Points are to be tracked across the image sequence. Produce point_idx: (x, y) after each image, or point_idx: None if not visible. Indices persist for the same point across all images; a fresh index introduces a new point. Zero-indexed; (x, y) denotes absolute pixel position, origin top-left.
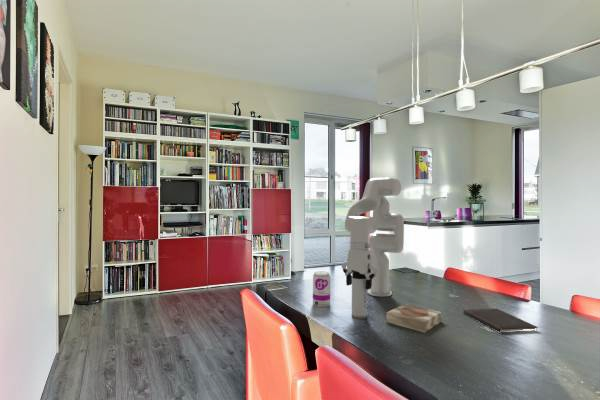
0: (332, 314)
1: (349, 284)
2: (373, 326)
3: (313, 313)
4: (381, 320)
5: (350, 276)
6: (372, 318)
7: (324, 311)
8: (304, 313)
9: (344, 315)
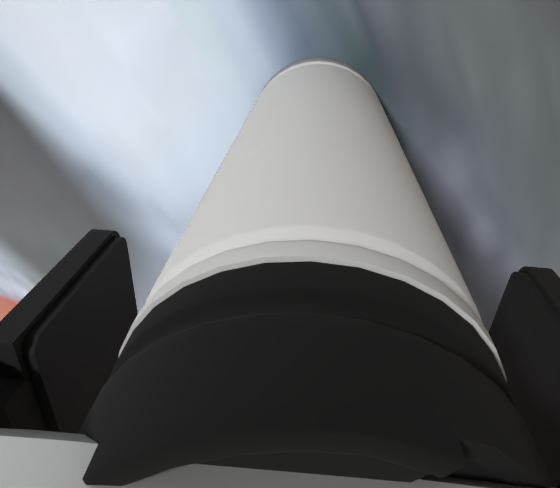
0: (134, 209)
1: (131, 299)
2: (497, 243)
3: (39, 266)
4: (526, 85)
5: (54, 386)
6: (435, 90)
7: (45, 190)
8: (8, 296)
9: (210, 174)
